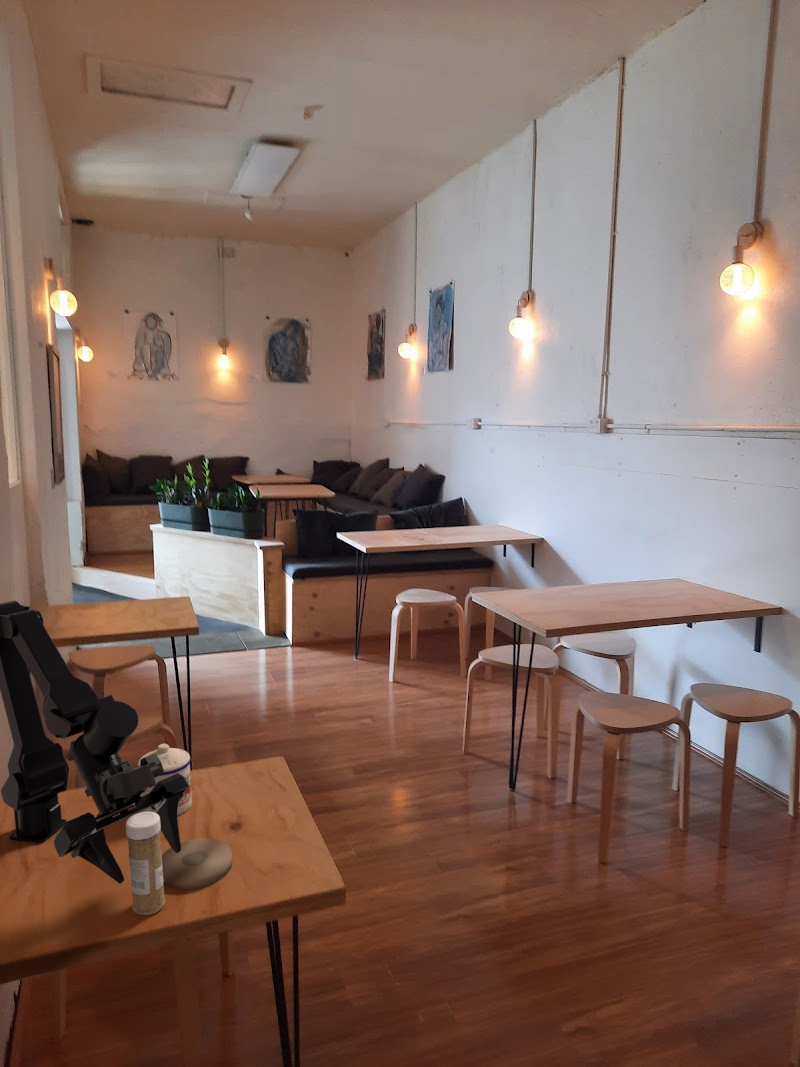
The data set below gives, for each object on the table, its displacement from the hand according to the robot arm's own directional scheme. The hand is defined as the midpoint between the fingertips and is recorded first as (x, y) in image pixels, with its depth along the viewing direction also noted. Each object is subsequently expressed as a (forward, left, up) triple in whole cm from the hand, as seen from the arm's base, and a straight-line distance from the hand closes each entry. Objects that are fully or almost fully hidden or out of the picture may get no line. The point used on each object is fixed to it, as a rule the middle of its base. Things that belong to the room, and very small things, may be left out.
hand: (151, 866), depth 105 cm
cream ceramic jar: (-13, +28, -7) cm, 31 cm away
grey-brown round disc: (+1, +11, -7) cm, 13 cm away
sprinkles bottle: (-1, +1, -7) cm, 7 cm away
